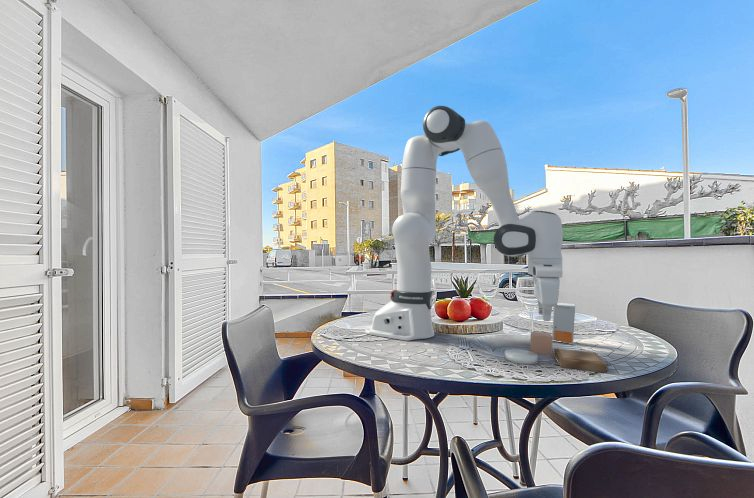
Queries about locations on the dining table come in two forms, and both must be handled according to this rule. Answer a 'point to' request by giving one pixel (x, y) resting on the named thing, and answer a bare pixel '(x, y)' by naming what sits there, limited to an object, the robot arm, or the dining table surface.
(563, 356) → the walnut coaster
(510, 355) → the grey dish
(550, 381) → the dining table surface
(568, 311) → the skincare box
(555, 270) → the robot arm
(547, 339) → the terracotta cube
